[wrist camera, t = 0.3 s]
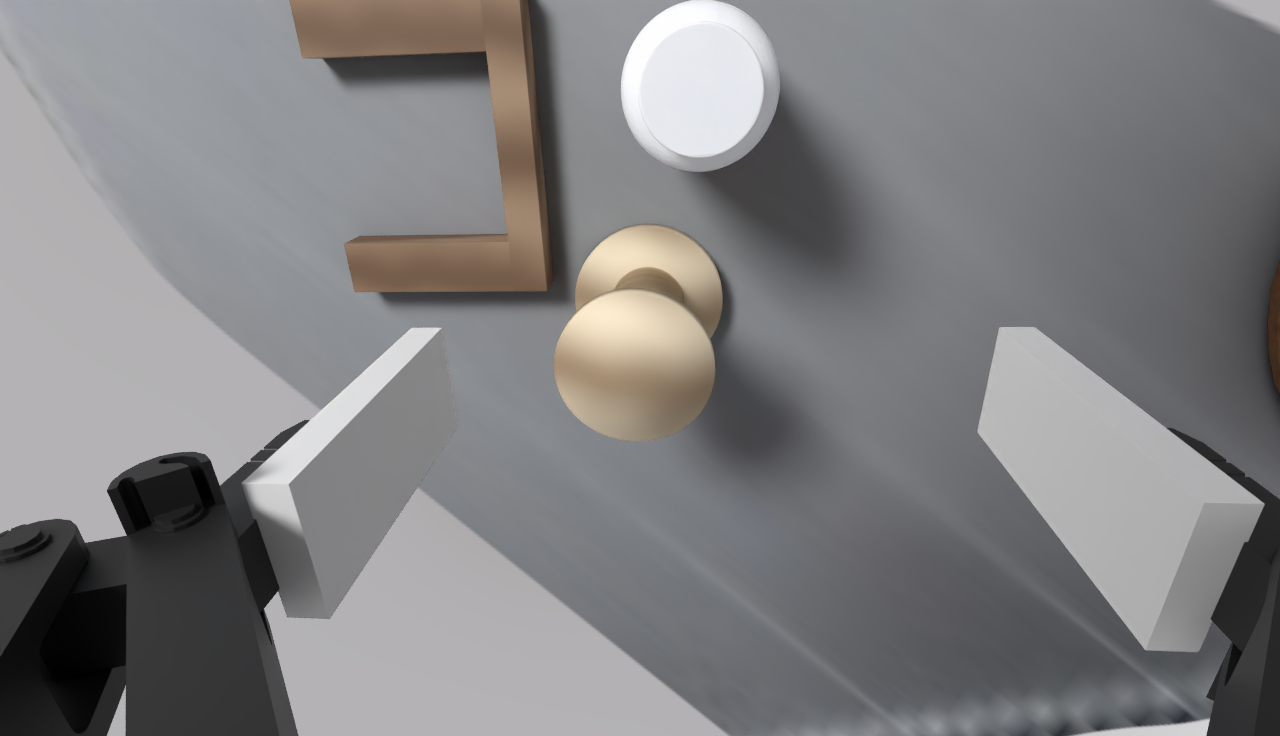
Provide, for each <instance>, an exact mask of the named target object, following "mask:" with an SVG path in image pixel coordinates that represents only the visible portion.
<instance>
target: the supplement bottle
mask: <svg viewBox="0 0 1280 736" xmlns="http://www.w3.org/2000/svg"><path fill="white" fill-rule="evenodd" d="M779 93H780V72H779V65H778V61H777V57H776V54H775V51H774V48H773V46H772V44H771V42H770V40H769V38H768V36H767V35H766V33H765V32H764V31H763V29H762V28H761V27H760V25H759V24H758V23H757V22H756V21H755V20H754V19H753V18H751V17H750V16H749V15H748V14H746V13H745V12H743V11H742V10H740V9H738V8H736V7H734V6H732V5H730V4H726V3H723V2H719V1H714V0H692V1H687V2H683V3H680V4H677V5H674V6H672V7H670V8H668V9H666V10H664V11H663V12H661V13H660V14H658V15H657V16H656V17H654V18H653V19H652V20H651V21H650V22H649V23H648V24H647V25H646V26H645V27H644V28H643V29H642V31H641V32H640V33H639V35H638V36H637V38H636V39H635V41H634V42H633V44H632V46H631V48H630V50H629V53H628V55H627V57H626V61H625V64H624V68H623V72H622V80H621V99H622V106H623V110H624V114H625V117H626V120H627V123H628V125H629V127H630V129H631V131H632V133H633V135H634V136H635V138H636V139H637V141H638V142H639V143H640V145H641V146H642V147H643V148H644V149H645V150H646V151H647V152H648V153H649V154H650V155H651V156H653V157H654V158H655V159H657V160H658V161H660V162H662V163H663V164H665V165H667V166H670V167H673V168H675V169H679V170H684V171H691V172H705V171H712V170H716V169H720V168H723V167H725V166H728V165H730V164H732V163H734V162H736V161H738V160H739V159H741V158H742V157H743V156H745V155H746V154H747V153H748V152H750V151H751V150H752V149H753V148H754V147H755V146H756V145H757V143H758V142H759V141H760V140H761V138H762V137H763V136H764V134H765V133H766V131H767V129H768V128H769V126H770V123H771V121H772V119H773V117H774V114H775V111H776V108H777V104H778V99H779Z"/></svg>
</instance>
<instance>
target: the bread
mask: <svg viewBox="0 0 1280 736" xmlns="http://www.w3.org/2000/svg"><path fill="white" fill-rule="evenodd" d="M1268 344H1269V358H1270V363H1271V367H1272V372H1273V377H1274V382H1275V385H1276V387H1277V390H1278V392H1279V394H1280V261H1279V264H1278V267H1277V271H1276V274H1275V277H1274V280H1273V284H1272V287H1271V294H1270V305H1269V316H1268Z"/></svg>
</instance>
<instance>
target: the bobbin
mask: <svg viewBox="0 0 1280 736" xmlns="http://www.w3.org/2000/svg"><path fill="white" fill-rule="evenodd" d="M722 304H723V297H722V286H721V281H720V276H719V273H718V270H717V268H716V266H715V264H714V262H713V260H712V258H711V257H710V255H709V254H708V252H707V251H706V250H705V249H704V248H703V247H702V246H701V245H700V244H699V243H698V242H697V241H696V240H694V239H693V238H692V237H690V236H689V235H687V234H685V233H683V232H681V231H679V230H677V229H674V228H671V227H668V226H663V225H658V224H641V225H634V226H630V227H626V228H624V229H621V230H618V231H616V232H615V233H613V234H611V235H609V236H608V237H606V238H605V239H604V240H602V241H601V242H600V243H599V244H598V245H597V246H596V247H595V248H594V250H593V251H592V252H591V253H590V255H589V256H588V258H587V260H586V261H585V263H584V265H583V267H582V269H581V271H580V274H579V276H578V280H577V284H576V290H575V305H576V312H575V313H574V315H573V316H572V317H571V318H570V320H569V321H568V323H567V325H566V326H565V328H564V330H563V332H562V334H561V336H560V339H559V341H558V344H557V347H556V351H555V357H554V373H555V379H556V383H557V386H558V390H559V392H560V394H561V396H562V398H563V400H564V402H565V403H566V405H567V406H568V408H569V409H570V410H571V411H572V413H573V414H574V415H575V416H576V417H577V418H578V419H579V420H581V421H582V422H583V423H584V424H586V425H587V426H588V427H590V428H592V429H593V430H595V431H597V432H599V433H601V434H603V435H606V436H609V437H612V438H615V439H619V440H625V441H636V442H637V441H650V440H657V439H660V438H664V437H667V436H669V435H672V434H674V433H676V432H678V431H680V430H681V429H683V428H684V427H686V426H687V425H688V424H690V423H691V422H692V421H693V420H694V419H695V418H696V417H697V416H698V415H699V414H700V413H701V411H702V410H703V409H704V407H705V405H706V404H707V402H708V400H709V398H710V395H711V393H712V390H713V386H714V381H715V359H714V350H713V345H712V342H711V337H712V336H713V334H714V332H715V330H716V329H717V326H718V323H719V321H720V317H721V313H722Z"/></svg>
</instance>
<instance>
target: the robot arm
mask: <svg viewBox="0 0 1280 736" xmlns="http://www.w3.org/2000/svg"><path fill="white" fill-rule="evenodd" d="M457 427H458V420H457V415H456V409H455V403H454V397H453V391H452V385H451V379H450V373H449V367H448V361H447V356H446V350H445V344H444V338H443V332H442V328H411V329H410V330H409V331H408V332H407V333H406V334H404V335H403V336H402V337H401V338H400V339H399V340H398V341H397V342H396V343H395V344H394V345H392V346H391V347H390V348H389V349H388V350H387V351H386V352H385V353H384V354H383V355H381V356H380V357H379V358H378V359H377V360H376V361H375V362H374V363H373V364H372V365H370V366H369V367H368V368H367V369H366V370H365V371H364V372H363V373H362V374H361V375H360V376H358V377H357V378H356V379H355V380H354V381H353V382H352V383H351V384H350V385H349V386H347V387H346V388H345V389H344V390H343V391H342V392H341V393H340V394H339V395H338V396H337V397H335V398H334V399H333V400H332V401H331V402H330V403H329V404H328V405H327V406H326V407H324V408H323V409H322V410H321V411H320V412H319V413H318V414H317V415H316V416H315V417H314V418H312V419H311V420H304V421H302V422H300V423H298V424H296V425H295V426H293V427H291V428H289V429H287V430H285V431H283V432H281V433H280V434H279V435H278V436H276V437H275V438H274V439H273V440H272V441H271V442H270V443H268V444H267V445H266V446H265V447H264V450H260V452H258V453H257V454H256V455H255V456H254V457H252V458H251V462H247V463H246V464H244V465H243V466H242V467H241V468H240V469H239V470H238V471H237V472H236V473H234V474H233V475H232V476H231V477H230V478H228V479H227V480H226V481H225V482H224V483H223V484H222V485H221V486H219V483H218V480H217V477H216V475H215V472H214V469H213V466H212V464H211V461H210V459H209V458H208V457H207V456H206V455H205V454H201V453H197V452H181V453H173V454H169V455H164V456H159V457H156V458H153V459H151V460H148V461H145V462H142V463H139V464H138V465H136V466H134V467H132V468H130V469H128V470H126V471H125V472H123V473H121V474H120V475H119V476H118V477H117V478H115V479H114V480H113V481H112V482H111V483H110V485H109V487H108V489H107V492H108V494H109V496H110V498H111V501H112V503H113V505H114V508H115V510H116V512H117V514H118V517H119V519H120V521H121V523H122V525H123V528H124V530H125V532H126V534H127V536H123V537H118V538H111V539H105V540H100V541H94V542H88V543H85V542H84V540H83V538H82V536H81V534H80V532H79V530H78V528H77V526H76V525H75V524H74V523H73V522H72V521H70V520H62V519H53V520H45V521H39V522H35V523H31V524H28V525H20V526H17V527H15V528H12V529H11V531H8V530H7V531H5V532H3V533H1V534H0V736H107V733H108V731H109V728H110V725H111V723H112V720H113V717H114V715H115V712H116V709H117V707H118V704H119V701H120V699H121V696H122V693H123V691H124V688H125V685H126V736H298V733H297V729H296V725H295V721H294V717H293V713H292V710H291V706H290V702H289V698H288V695H287V691H286V687H285V683H284V679H283V675H282V671H281V667H280V663H279V660H278V656H277V652H276V648H275V644H274V640H273V636H272V633H271V629H270V625H269V622H268V619H267V617H266V613H265V611H264V608H265V607H266V605H267V604H268V603H269V601H270V600H271V599H272V598H273V596H274V595H275V594H276V593H277V591H278V592H279V595H280V598H281V600H282V604H283V606H284V609H285V612H286V615H287V617H295V618H321V619H330V618H331V616H332V615H333V613H334V612H335V610H336V609H337V607H338V606H339V604H340V603H341V601H342V600H343V598H344V597H345V595H346V594H347V592H348V591H349V589H350V588H351V586H352V585H353V583H354V581H355V580H356V579H357V577H358V576H359V574H360V573H361V571H362V570H363V568H364V567H365V565H366V564H367V562H368V561H369V559H370V558H371V556H372V555H373V553H374V552H375V550H376V549H377V547H378V546H379V544H380V543H381V541H382V540H383V538H384V537H385V535H386V534H387V532H388V531H389V529H390V528H391V526H392V525H393V523H394V522H395V520H396V519H397V517H398V516H399V514H400V513H401V511H402V510H403V508H404V507H405V505H406V504H407V502H408V501H409V499H410V498H411V496H412V495H413V493H414V492H415V490H416V489H417V487H418V486H419V484H420V483H421V481H422V480H423V478H424V477H425V475H426V474H427V472H428V471H429V469H430V468H431V466H432V465H433V463H434V462H435V460H436V459H437V457H438V456H439V454H440V453H441V451H442V450H443V448H444V447H445V445H446V444H447V442H448V441H449V439H450V438H451V436H452V435H453V433H454V432H455V430H456V429H457ZM977 432H978V433H979V435H980V436H981V437H982V439H983V440H984V441H985V443H986V444H987V445H988V446H989V448H990V449H991V450H992V452H993V453H994V454H995V456H996V457H997V458H998V459H999V461H1000V462H1001V463H1002V465H1003V466H1004V467H1005V469H1006V470H1007V471H1008V472H1009V474H1010V475H1011V476H1012V478H1013V479H1014V480H1015V482H1016V483H1017V484H1018V485H1019V487H1020V488H1021V489H1022V491H1023V492H1024V493H1025V495H1026V496H1027V497H1028V498H1029V500H1030V501H1031V502H1032V504H1033V505H1034V506H1035V508H1036V509H1037V510H1038V511H1039V513H1040V514H1041V515H1042V517H1043V518H1044V519H1045V520H1046V522H1047V523H1048V524H1049V526H1050V527H1051V528H1052V530H1053V531H1054V532H1055V533H1056V535H1057V536H1058V537H1059V539H1060V540H1061V541H1062V543H1063V544H1064V545H1065V546H1066V548H1067V549H1068V550H1069V552H1070V553H1071V554H1072V556H1073V557H1074V558H1075V559H1076V561H1077V562H1078V563H1079V565H1080V566H1081V567H1082V569H1083V570H1084V571H1085V572H1086V574H1087V575H1088V576H1089V578H1090V579H1091V580H1092V582H1093V583H1094V584H1095V585H1096V587H1097V588H1098V589H1099V591H1100V592H1101V593H1102V595H1103V596H1104V597H1105V598H1106V600H1107V601H1108V602H1109V604H1110V605H1111V606H1112V607H1113V609H1114V610H1115V611H1116V613H1117V614H1118V615H1119V617H1120V618H1121V619H1122V620H1123V622H1124V623H1125V624H1126V626H1127V627H1128V628H1129V630H1130V631H1131V632H1132V633H1133V635H1134V636H1135V637H1136V639H1137V640H1138V641H1139V643H1140V644H1141V645H1142V646H1143V648H1144V649H1145V650H1151V651H1177V652H1199V651H1200V648H1201V646H1202V644H1203V642H1204V639H1205V637H1206V635H1207V633H1208V630H1209V628H1210V626H1211V624H1212V621H1213V622H1214V623H1215V624H1216V625H1217V626H1218V627H1219V628H1220V629H1221V631H1222V632H1223V633H1224V634H1225V635H1226V636H1227V637H1228V638H1229V639H1230V640H1231V641H1232V644H1231V646H1230V648H1229V650H1228V652H1227V654H1226V656H1225V658H1224V660H1223V663H1222V665H1221V667H1220V669H1219V671H1218V673H1217V675H1216V677H1215V680H1214V682H1213V684H1212V686H1211V688H1210V690H1209V692H1208V694H1207V698H1209V699H1211V700H1213V701H1214V704H1213V709H1212V713H1211V718H1210V722H1209V727H1208V731H1207V736H1280V499H1278V498H1277V497H1276V496H1274V495H1273V494H1272V493H1270V492H1269V491H1268V490H1266V489H1265V488H1264V487H1262V486H1261V485H1260V484H1258V483H1257V482H1255V481H1254V480H1253V479H1251V478H1250V477H1245V473H1243V472H1242V471H1241V470H1239V469H1238V468H1237V467H1235V466H1234V465H1233V464H1231V463H1226V459H1224V458H1223V457H1222V456H1220V455H1219V454H1218V453H1216V452H1215V451H1214V450H1212V449H1211V448H1210V447H1208V446H1207V445H1206V444H1204V443H1203V442H1200V441H1198V440H1196V439H1194V438H1192V437H1190V436H1187V435H1185V434H1183V433H1181V432H1179V431H1177V430H1175V429H1172V428H1165V427H1164V426H1163V425H1161V424H1160V423H1159V422H1157V421H1156V420H1155V419H1154V418H1152V417H1151V416H1150V415H1148V414H1147V413H1146V412H1144V411H1143V410H1142V409H1141V408H1139V407H1138V406H1137V405H1135V404H1134V403H1133V402H1131V401H1130V400H1129V399H1128V398H1126V397H1125V396H1124V395H1122V394H1121V393H1120V392H1118V391H1117V390H1116V389H1114V388H1113V387H1112V386H1111V385H1109V384H1108V383H1107V382H1105V381H1104V380H1103V379H1101V378H1100V377H1099V376H1098V375H1096V374H1095V373H1094V372H1092V371H1091V370H1090V369H1088V368H1087V367H1086V366H1085V365H1083V364H1082V363H1081V362H1079V361H1078V360H1077V359H1075V358H1074V357H1073V356H1072V355H1070V354H1069V353H1068V352H1066V351H1065V350H1064V349H1062V348H1061V347H1060V346H1059V345H1057V344H1056V343H1055V342H1053V341H1052V340H1051V339H1049V338H1048V337H1047V336H1045V335H1044V334H1043V333H1042V332H1040V331H1039V330H1038V329H1036V328H1035V327H999V332H998V336H997V341H996V346H995V351H994V355H993V360H992V365H991V370H990V374H989V379H988V384H987V388H986V393H985V398H984V403H983V407H982V412H981V417H980V422H979V426H978V431H977Z"/></svg>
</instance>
